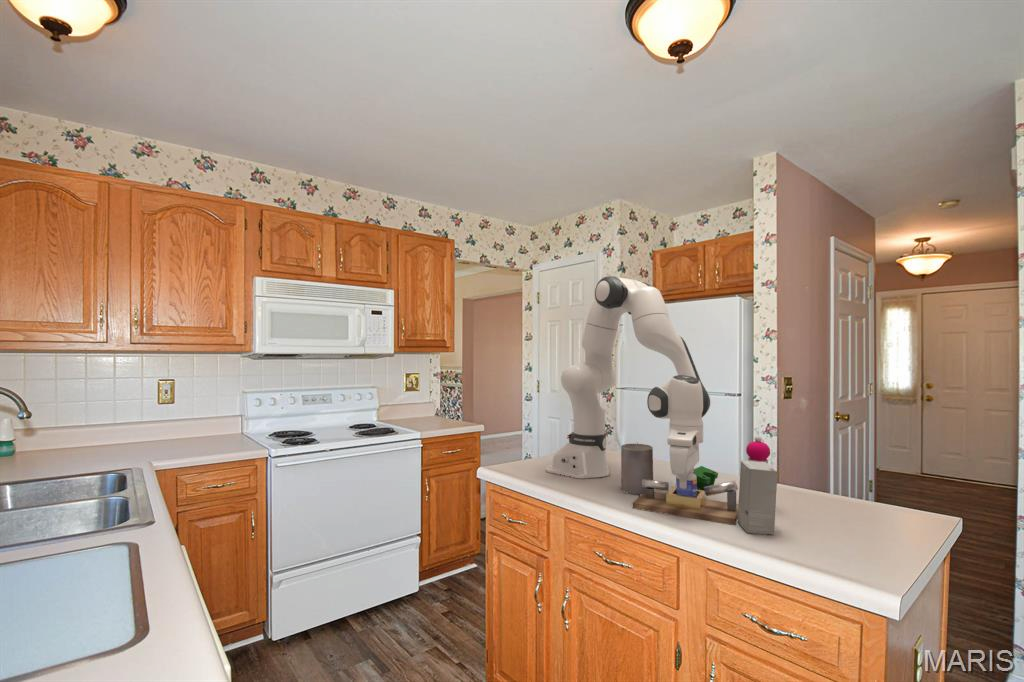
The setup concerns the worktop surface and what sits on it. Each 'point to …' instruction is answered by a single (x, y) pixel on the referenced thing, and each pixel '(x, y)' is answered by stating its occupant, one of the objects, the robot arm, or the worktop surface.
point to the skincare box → (757, 497)
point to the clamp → (705, 477)
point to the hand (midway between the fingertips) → (686, 485)
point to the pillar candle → (636, 467)
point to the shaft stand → (690, 502)
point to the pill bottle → (688, 485)
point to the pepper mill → (758, 450)
